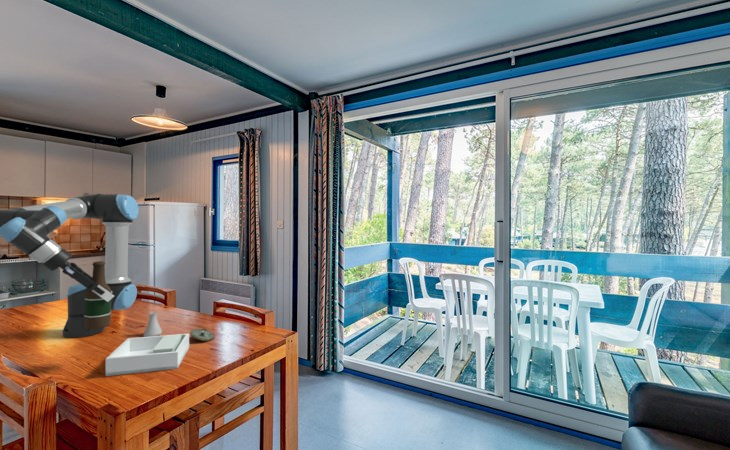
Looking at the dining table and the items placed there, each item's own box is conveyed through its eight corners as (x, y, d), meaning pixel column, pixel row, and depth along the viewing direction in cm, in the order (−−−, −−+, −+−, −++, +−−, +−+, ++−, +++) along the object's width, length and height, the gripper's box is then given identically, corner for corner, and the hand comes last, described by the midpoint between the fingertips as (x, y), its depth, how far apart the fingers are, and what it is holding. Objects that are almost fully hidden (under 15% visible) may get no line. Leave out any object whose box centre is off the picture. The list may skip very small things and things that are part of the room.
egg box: (163, 349, 134) (163, 336, 134) (181, 348, 136) (181, 334, 136) (152, 365, 120) (152, 350, 120) (172, 363, 122) (172, 348, 122)
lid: (196, 335, 154) (196, 324, 154) (218, 334, 155) (218, 324, 155) (185, 343, 144) (185, 332, 144) (209, 343, 144) (209, 332, 144)
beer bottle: (94, 323, 126) (95, 260, 126) (116, 323, 127) (117, 260, 126) (78, 329, 119) (79, 262, 118) (101, 330, 119) (102, 263, 119)
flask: (153, 338, 150) (153, 316, 149) (139, 336, 151) (139, 314, 151) (165, 332, 157) (166, 311, 156) (152, 331, 158) (152, 310, 158)
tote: (128, 353, 133) (128, 338, 133) (189, 347, 139) (189, 333, 139) (105, 376, 114) (105, 358, 114) (177, 368, 120) (177, 352, 120)
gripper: (43, 260, 120) (99, 299, 131) (38, 267, 105) (102, 310, 115) (63, 245, 123) (116, 284, 134) (61, 250, 108) (121, 293, 119)
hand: (110, 296), depth 125 cm, fingers closed on beer bottle, 7 cm apart
